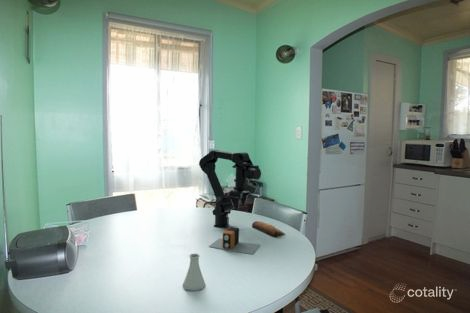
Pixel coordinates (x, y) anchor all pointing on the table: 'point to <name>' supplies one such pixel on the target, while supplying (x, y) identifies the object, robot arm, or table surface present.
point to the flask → (194, 275)
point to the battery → (230, 238)
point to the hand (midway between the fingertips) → (240, 207)
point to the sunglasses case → (267, 228)
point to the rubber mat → (237, 246)
